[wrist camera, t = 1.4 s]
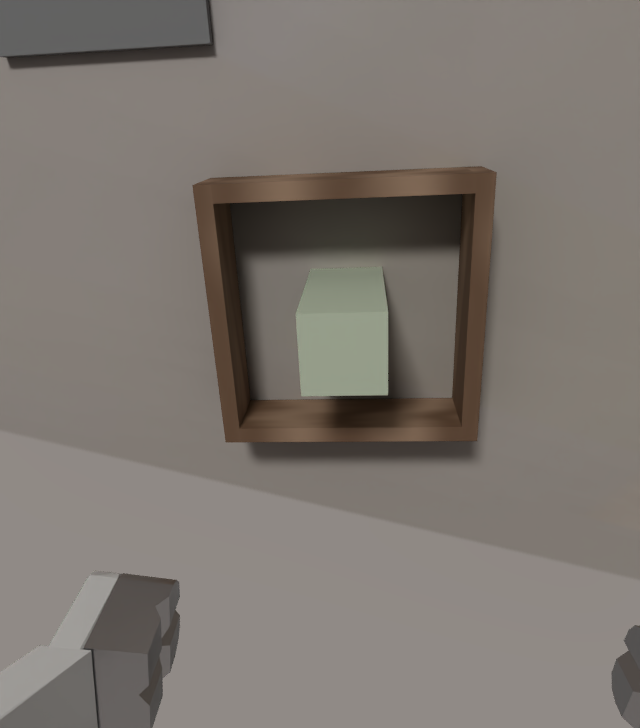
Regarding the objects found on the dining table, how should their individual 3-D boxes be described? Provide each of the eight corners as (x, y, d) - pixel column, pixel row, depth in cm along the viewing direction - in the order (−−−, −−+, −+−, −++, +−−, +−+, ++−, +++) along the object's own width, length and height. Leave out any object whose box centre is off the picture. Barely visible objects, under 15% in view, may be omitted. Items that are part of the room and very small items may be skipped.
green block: (382, 267, 36) (388, 311, 27) (382, 334, 37) (388, 395, 29) (310, 269, 36) (295, 313, 28) (314, 335, 38) (301, 396, 30)
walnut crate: (481, 166, 33) (496, 172, 29) (466, 410, 39) (477, 440, 36) (210, 178, 34) (192, 185, 31) (238, 412, 40) (225, 442, 37)
